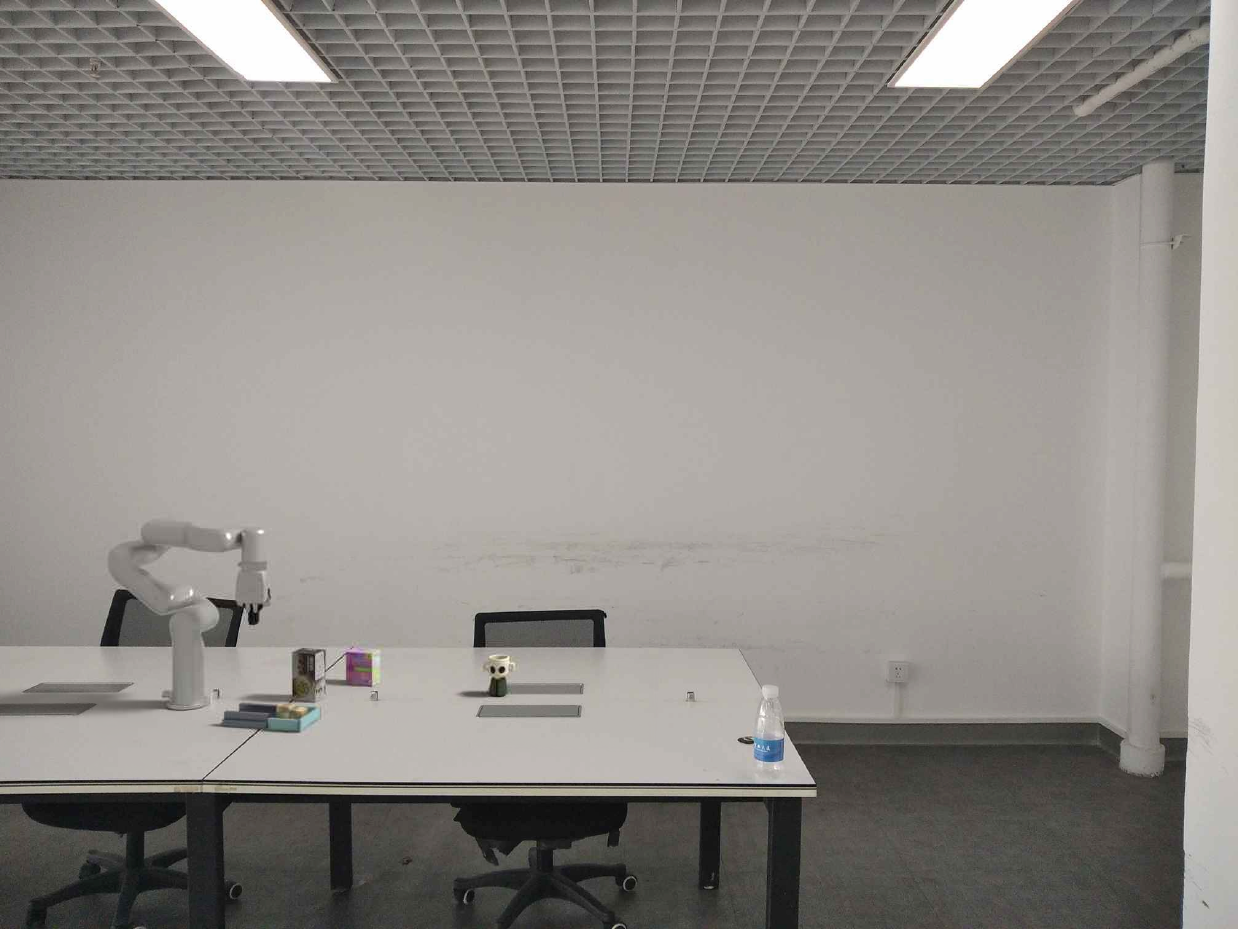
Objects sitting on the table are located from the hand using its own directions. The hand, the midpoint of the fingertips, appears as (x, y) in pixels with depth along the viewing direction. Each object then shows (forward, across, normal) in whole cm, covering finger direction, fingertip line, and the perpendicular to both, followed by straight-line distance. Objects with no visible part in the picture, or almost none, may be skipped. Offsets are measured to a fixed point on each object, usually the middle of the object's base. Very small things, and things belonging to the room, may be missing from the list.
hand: (253, 624), depth 299 cm
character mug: (+27, +72, +31) cm, 83 cm away
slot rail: (+27, +7, -12) cm, 30 cm away
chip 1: (+25, +17, -12) cm, 33 cm away
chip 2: (+24, +19, -12) cm, 33 cm away
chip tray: (+27, +20, -12) cm, 36 cm away
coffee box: (+27, +12, +14) cm, 33 cm away
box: (+27, +22, +35) cm, 50 cm away
